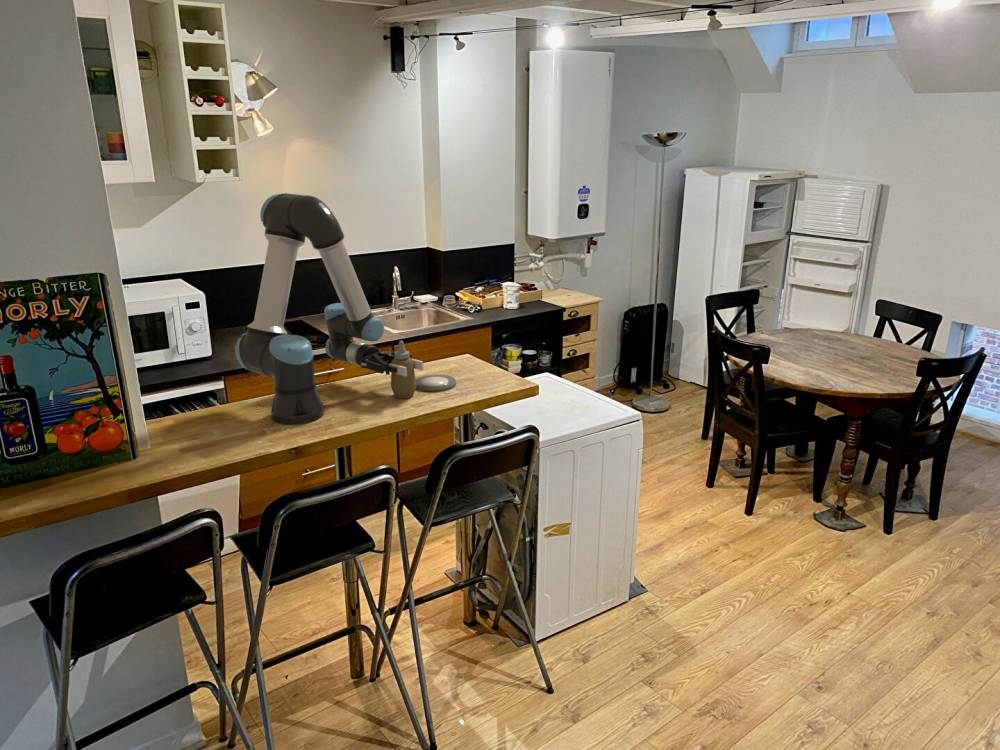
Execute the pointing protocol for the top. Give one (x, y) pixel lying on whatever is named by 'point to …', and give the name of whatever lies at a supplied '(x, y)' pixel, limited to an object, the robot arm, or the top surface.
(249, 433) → the top surface
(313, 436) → the top surface
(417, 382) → the coaster
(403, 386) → the squeeze bottle
